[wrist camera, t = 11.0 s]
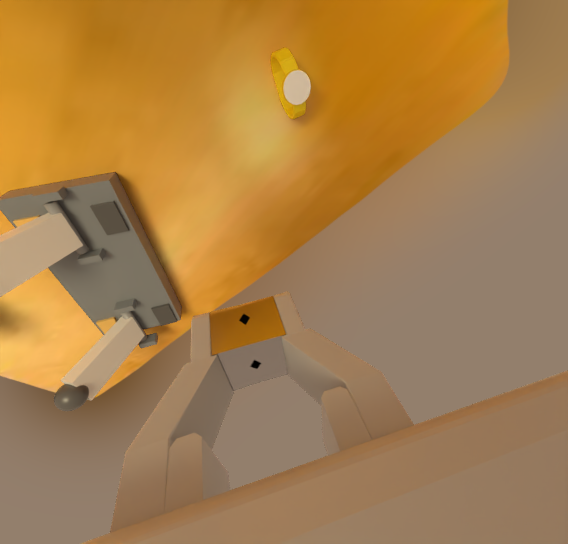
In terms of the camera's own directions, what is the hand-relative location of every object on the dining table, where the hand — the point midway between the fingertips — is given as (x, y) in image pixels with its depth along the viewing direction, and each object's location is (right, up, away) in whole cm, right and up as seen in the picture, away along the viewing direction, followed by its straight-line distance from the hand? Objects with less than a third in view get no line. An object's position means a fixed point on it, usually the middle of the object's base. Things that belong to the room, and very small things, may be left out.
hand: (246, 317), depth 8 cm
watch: (+1, +22, +21) cm, 31 cm away
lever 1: (-22, +7, +21) cm, 31 cm away
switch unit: (-22, +3, +28) cm, 36 cm away
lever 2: (-20, -6, +31) cm, 38 cm away
